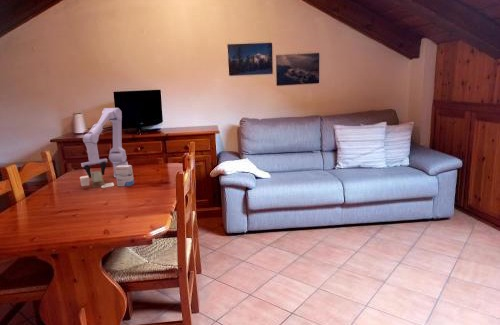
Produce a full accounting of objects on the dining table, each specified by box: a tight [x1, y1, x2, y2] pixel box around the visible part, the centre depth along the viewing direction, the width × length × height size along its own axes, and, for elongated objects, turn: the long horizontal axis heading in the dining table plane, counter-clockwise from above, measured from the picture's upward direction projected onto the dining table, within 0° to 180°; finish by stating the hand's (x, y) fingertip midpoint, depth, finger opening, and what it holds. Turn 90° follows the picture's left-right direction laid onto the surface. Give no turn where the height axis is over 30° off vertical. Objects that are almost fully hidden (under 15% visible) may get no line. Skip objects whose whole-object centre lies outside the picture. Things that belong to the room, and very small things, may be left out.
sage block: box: [90, 170, 103, 182], centre depth 205 cm, size 4×4×5 cm
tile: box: [100, 182, 115, 189], centre depth 204 cm, size 7×7×1 cm
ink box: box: [115, 164, 135, 187], centre depth 202 cm, size 8×5×12 cm, turn 84°
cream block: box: [79, 175, 91, 187], centre depth 208 cm, size 4×4×5 cm
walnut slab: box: [90, 177, 106, 189], centre depth 205 cm, size 7×7×3 cm
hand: (96, 176), depth 204 cm, fingers open, 7 cm apart
